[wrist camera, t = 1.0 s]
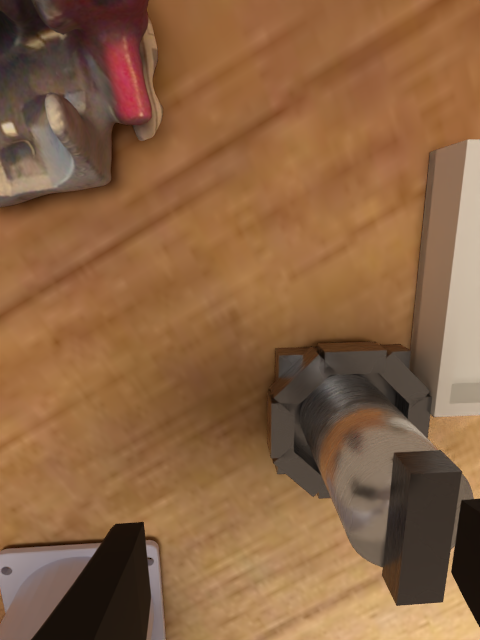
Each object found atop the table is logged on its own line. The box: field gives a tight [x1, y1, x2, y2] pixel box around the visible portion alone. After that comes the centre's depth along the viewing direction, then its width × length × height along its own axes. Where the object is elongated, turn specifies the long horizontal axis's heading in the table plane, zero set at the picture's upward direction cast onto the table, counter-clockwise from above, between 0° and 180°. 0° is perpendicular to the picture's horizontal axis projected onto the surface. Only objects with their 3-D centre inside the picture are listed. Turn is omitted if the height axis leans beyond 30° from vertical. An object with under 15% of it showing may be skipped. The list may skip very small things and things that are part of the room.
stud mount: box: [267, 342, 432, 498], centre depth 18 cm, size 7×7×2 cm
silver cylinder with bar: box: [300, 374, 474, 606], centre depth 14 cm, size 4×4×7 cm
